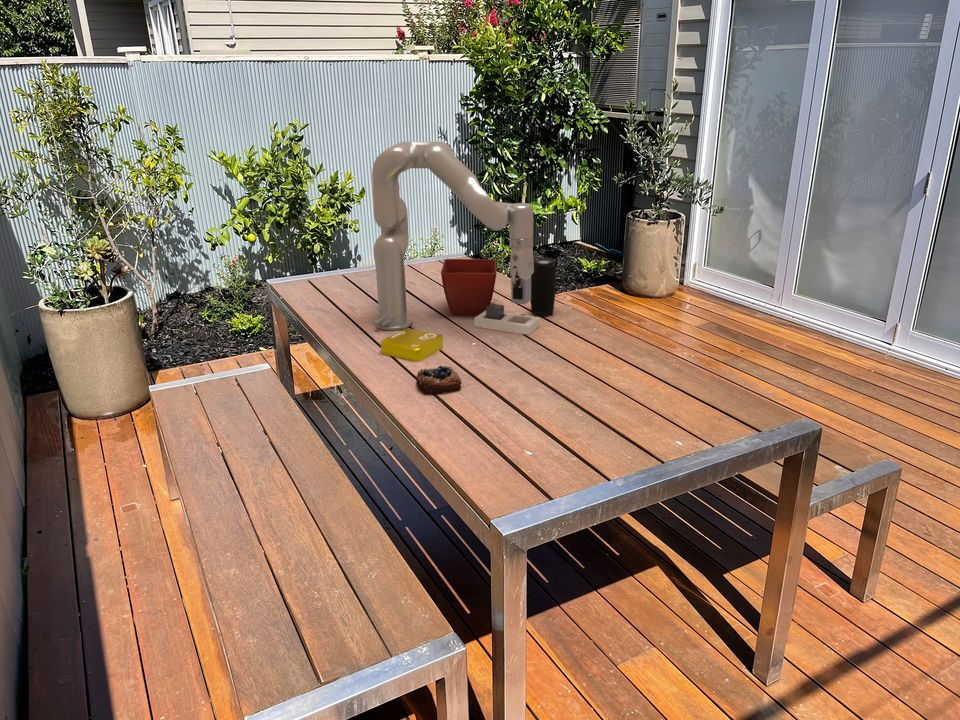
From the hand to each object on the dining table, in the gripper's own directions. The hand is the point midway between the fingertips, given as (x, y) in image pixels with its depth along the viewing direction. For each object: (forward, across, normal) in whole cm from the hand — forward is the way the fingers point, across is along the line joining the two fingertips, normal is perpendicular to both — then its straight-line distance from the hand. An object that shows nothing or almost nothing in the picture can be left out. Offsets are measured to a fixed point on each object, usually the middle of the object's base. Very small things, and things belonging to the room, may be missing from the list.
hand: (521, 296), depth 234 cm
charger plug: (+2, 0, 0) cm, 2 cm away
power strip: (+11, +4, +5) cm, 13 cm away
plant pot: (+11, +10, +24) cm, 28 cm away
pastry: (+11, -54, +3) cm, 55 cm away
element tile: (+11, -33, +23) cm, 42 cm away
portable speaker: (+12, +18, -1) cm, 21 cm away
